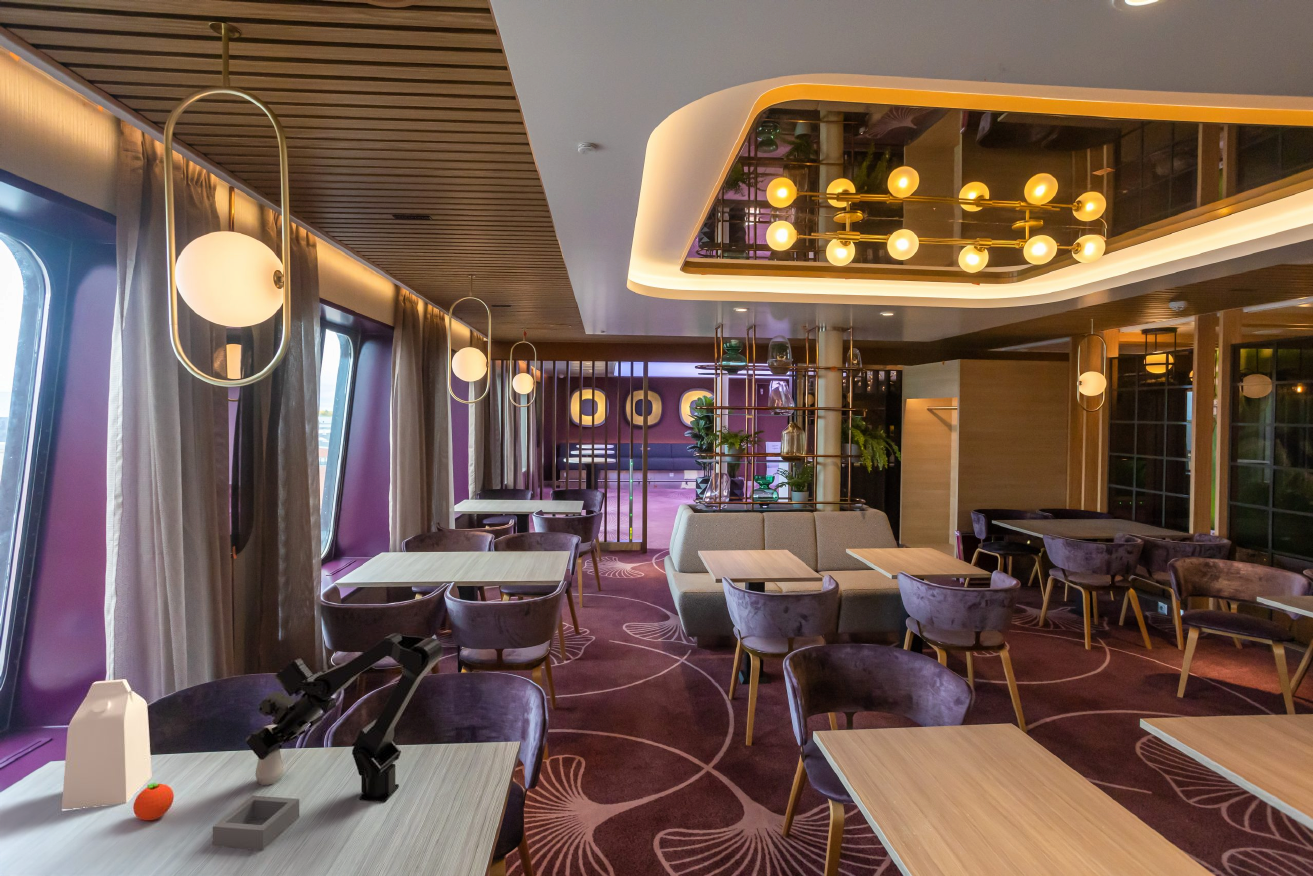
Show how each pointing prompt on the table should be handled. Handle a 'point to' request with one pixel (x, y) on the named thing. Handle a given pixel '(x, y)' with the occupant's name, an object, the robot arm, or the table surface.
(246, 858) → the table surface
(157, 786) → the clementine
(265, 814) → the well block
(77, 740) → the milk
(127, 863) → the table surface
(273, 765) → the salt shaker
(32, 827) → the table surface
